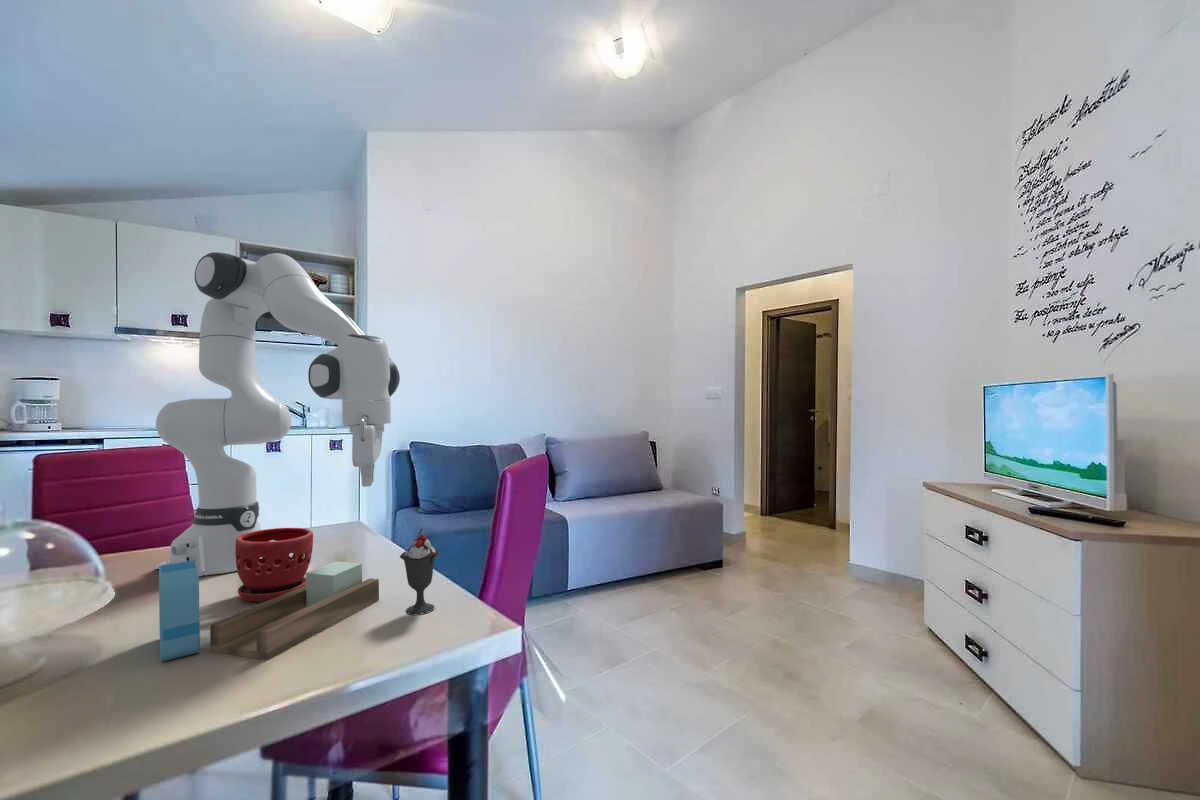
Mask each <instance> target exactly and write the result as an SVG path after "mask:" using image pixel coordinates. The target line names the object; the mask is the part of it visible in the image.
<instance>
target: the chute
mask: <svg viewBox="0 0 1200 800" xmlns="http://www.w3.org/2000/svg"><path fill="white" fill-rule="evenodd" d="M378 601H380V580H379V578H372V577H371V578H368V579H366V580H362V582H361V583H359V584H357V585H354V586H352V587H350V588H348V589H346V590H344V591H342V592H339V593H337V594H335V595H333V596H331V597H329V598H327V599H324V600H322V601H320V602H318V603H316V604H314V605H311V606H309V607H306V585H305V586H303V587H300V588H298V589H295V590H293V591H291V592H288V593H286V594H283V595H281V596H279V597H276V598H274V599H271V600H269V601H265V602H262V603H259V604H258V605H254V606H253V607H250V608H247V609H245V610H243V611H240V612H238V613H236V614H235V613H234V614H233V615H230V616H228V617H226V618H223V619H221V620H218V621H216V622H214V623H211V624H210V629H209V631H210V632H209V633H210V652H214V653H220V654H221V653H222V654H227V655H234V656H238V657H239V656H240V657H247V658H251V659H252V658H253V659H259V660H267V661H269V660H270V659H272V658H274V657H276V656H277V655H280V654H281V653H283V652H285V651H287V650H289V649H291V648H292V647H295V646H297V645H299V644H300V643H301V642H303V641H306V640H307V639H309V638H312V637H313V636H315V635H317V634H319V633H321V632H323V631H325V630H326V629H328V628H329V627H332V626H334V625H335V624H337V623H339V622H341V621H343V620H345V619H347V618H349V617H351V616H352V615H354V614H356V613H358V612H360V611H362V610H364V609H365V608H367V607H369V606H371V605H373V604H375V603H377V602H378Z"/></svg>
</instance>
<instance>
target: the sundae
mask: <svg viewBox="0 0 1200 800" xmlns="http://www.w3.org/2000/svg"><path fill="white" fill-rule="evenodd" d="M422 531H423V528H420V530H419V532H418V535H417V538H416V539H414V540H413V541H412V543H411V545H410V547H409V548H408V549H407V550H405V551H404V552H402V553H401V554H400V555H399V558H400V559H401V560H403V561H404V566H405V573H406V579H407V585H408V586H409V588H411V589H412V590H414V591H415V593H416V601H415V604H414V605H411V606H409V607H407V608H406V610H405V613H407V614H408V613H409V614H408V615H411V614H421V613H426V612H428V611H431V610H432V609H433V608H434V606H435V605H434V604H432V603H427V602H426V601H425V590H426V589H427V588H429V586H430V584H431V583H432V580H433V575H434V566H435V565H434V564H435V560H436V557H437V556H438V555H440V552H439V550H438V549H437V548H435V547H434V546H432V544H431V541H430V540H429V539H428V538H427V537H426V535H424V534H422ZM434 609H435V608H434ZM432 611H433V610H432ZM432 611H431V612H432ZM426 614H427V613H426ZM421 615H422V614H421Z"/></svg>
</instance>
